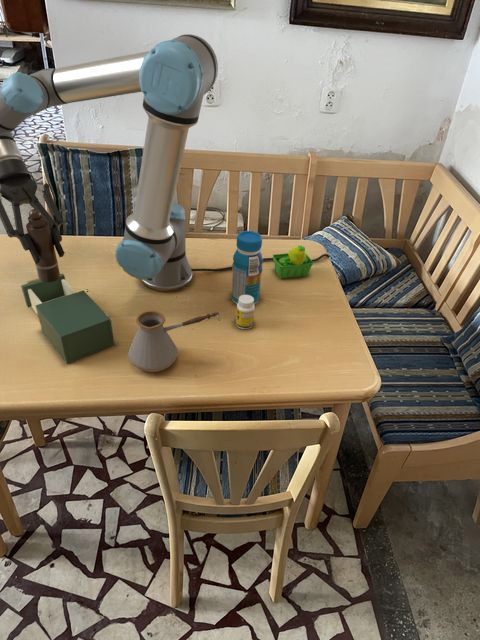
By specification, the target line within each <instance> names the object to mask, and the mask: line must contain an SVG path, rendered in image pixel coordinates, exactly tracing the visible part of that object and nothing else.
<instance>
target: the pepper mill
mask: <svg viewBox="0 0 480 640" xmlns="http://www.w3.org/2000/svg"><path fill="white" fill-rule="evenodd" d="M27 221H28V222H27V223H26V225H25V228H26V232H27V233H28V234H29V236H30V238H31V241H32V243H33V245H34V247H35V249H36V251H37V254H38V256H39V258H40V261H39V263H38V264H35V263H34V266H35V268H36V272H37V278H39V280H40V281H42V282H54V281H57V280H58V279H59V278H60V274H61V271H60V267H59V262H58V261H59V260H58V258H57V252H56V248H55V246H54V243H53V239H52V234H51V230H50V225H49V223H48V222H47V221H45V219H44V216H43V215H41V212H40V211H39V210H37V209H34V208H33V209H31V210H29V212H28V217H27ZM27 233H26V234H27Z"/></svg>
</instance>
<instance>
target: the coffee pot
mask: <svg viewBox="0 0 480 640" xmlns="http://www.w3.org/2000/svg"><path fill="white" fill-rule="evenodd" d="M214 317H216V318H217V320H218V321H219V322H220V321H221V315H220V313H219V312H217V311H216V312H212V313H207V314H206V315H199V316H196V317H193V318H190V319H188V320H185V321H182V322H180V323H177V324H172V325H169V326H164V324H165V322H166V317H165V315H164V314H163V313H162V312H160V311H157V310H146V311H143V312H141V313H139V314H138V315H137V316H136V318H135V322H136V324H137V326H139V327H138V329H137V331H136V333H135V335H134V338H133V340H132V342H131V344H130V347H129V350H128V353H127V354H128V359H129V361H130V363H131V364H132V365H133V366H134V367H135V368H137V369H138V370H140V371H144V372H147V373H158V372H161V371H163V370H166V369H167V368H169V367H171V365H173V364H174V362H175V361H176V359H177V357H178V353H179V352H178V347H177V346H176V344H175V343H174V341H173V339H172V337H171V336H170V334H169V333H168V332H170V331H171V330H174V329H178V328H181V327H185V326H188V325H189V326H190V325H194V324H197V323H201V322H203V321H205V320H210V319H211V318H214Z"/></svg>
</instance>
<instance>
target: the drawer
mask: <svg viewBox="0 0 480 640" xmlns="http://www.w3.org/2000/svg"><path fill="white" fill-rule="evenodd" d="M20 288H21V292H22V295H23V298H24V302H25V306H26V307H27V308H32V310H33V311H34V312H35V313H36V315H37V316H38V313H37V309H36V305H38V304H42V303H45V302H48V301H51V300H54V299H58V298H61V297H64V296H67V295H70V294H73V293H77V292H78V291H76V290H75V289H74V288H73V287H72V286H71V285H70V284H69V282H68V281H67V280H66V275H65V274H64V273H60V278H59V279H58V280H57V281H54V282H42V281H40V280H39V277H37V278H34V279H30V280H27V281H26V283H23V284H21V285H20Z"/></svg>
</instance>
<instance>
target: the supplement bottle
mask: <svg viewBox="0 0 480 640" xmlns="http://www.w3.org/2000/svg"><path fill="white" fill-rule="evenodd" d="M255 310H256V309H255V304H254V298H253V297H252V296H250V295H241V296H240V297H239V300H238V304H236V312H235V313H236V314H235V325H236V327H237V328H238V329H242V330H249V329H251V328H252V327H253V326H254V320H255V319H254V318H255Z"/></svg>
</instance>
